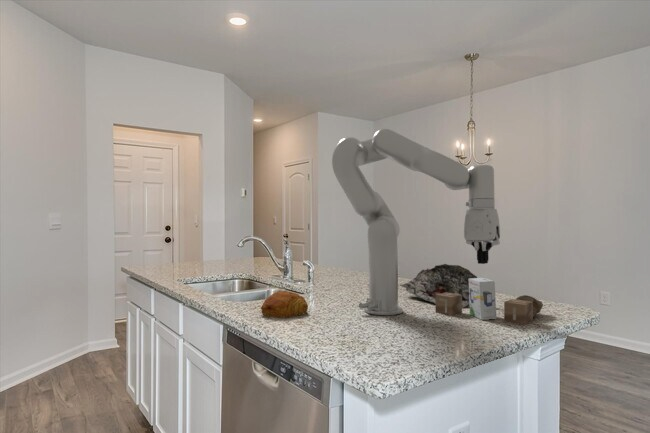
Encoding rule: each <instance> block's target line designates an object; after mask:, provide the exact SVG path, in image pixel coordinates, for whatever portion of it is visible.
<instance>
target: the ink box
mask: <svg viewBox="0 0 650 433" xmlns="http://www.w3.org/2000/svg"><path fill="white" fill-rule="evenodd" d="M495 285H496V282H495V281H494V280H492V279H489V278H486V277H477V278H470V279H469V304H468V305H469V315H471V316H473V317H475V318H477V319H479V320H480V321H484V320H485V321H486V320H488V321H490V320H489V319H495V320H497V307H496V303H497V301H496V286H495Z"/></svg>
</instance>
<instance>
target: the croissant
mask: <svg viewBox="0 0 650 433" xmlns="http://www.w3.org/2000/svg"><path fill="white" fill-rule="evenodd" d="M308 309H309V306H308V303H307V301H306V299H305V297H303V296H302V295H300V294H298V293H296V292H292V291H280V290H279V291H276V292H274V293H272V294H270V295H269V296H268V297H267V298H266V299H265V300H264V301H263V303H262V304H261V306H260V310H261V311H260V313H261V314H262V315H264V316H266V317H270V318H271V317H272V318H294V317H297V316H301V315H305V314H306V313H307V312H308Z"/></svg>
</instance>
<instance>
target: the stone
mask: <svg viewBox="0 0 650 433" xmlns="http://www.w3.org/2000/svg"><path fill="white" fill-rule="evenodd" d="M514 299H515V300H523V301H530V302H533V317H534V316H536V315H538V314H539V313H541V311H542V308H543V307H544V303H543V302H542V301H540V300H538V299H537V298H536V297H534V296H531V295H526V294H525V295H520V296H518V297H516V298H514Z"/></svg>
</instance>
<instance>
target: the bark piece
mask: <svg viewBox="0 0 650 433" xmlns="http://www.w3.org/2000/svg"><path fill="white" fill-rule="evenodd" d="M470 278H478V277H477V275H475V274H474V273H472V272H471V271H470V270H469V269H467V268H465V267H463V266H461V265H458V264H447V263H443V264H438V265H435V266H434V267H432V268H426V269H422V270H420V271H419V272H418V273H417V275H416V276H415V277H414V278H412V279H411V280H409V281H407V282H405V283H404V284H399V286H401V287H402V288H405V289H404V290H405V291H406V292H408V293H409V294H412V295H413V296H416V297H418V298H420V299H422V300H425V301H427V302H430V303H433V304H435V305H436V294H441V293H446V292H447V293H453V294H459V295H462V309H463V308H465V307H467V306H468V305H469V279H470Z"/></svg>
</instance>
